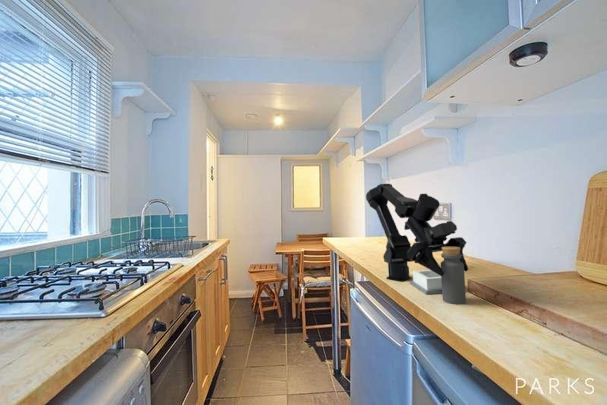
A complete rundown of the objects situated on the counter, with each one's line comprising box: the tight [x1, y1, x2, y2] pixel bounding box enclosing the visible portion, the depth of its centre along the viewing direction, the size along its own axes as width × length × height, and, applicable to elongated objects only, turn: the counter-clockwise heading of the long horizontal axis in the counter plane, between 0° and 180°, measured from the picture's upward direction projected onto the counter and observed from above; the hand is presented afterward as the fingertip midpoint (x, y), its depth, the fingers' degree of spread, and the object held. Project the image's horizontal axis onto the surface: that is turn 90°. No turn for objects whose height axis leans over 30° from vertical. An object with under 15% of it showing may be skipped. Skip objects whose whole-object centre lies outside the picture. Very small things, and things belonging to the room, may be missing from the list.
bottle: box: [440, 246, 467, 305], centre depth 80 cm, size 6×6×15 cm
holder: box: [409, 269, 442, 295], centre depth 93 cm, size 12×12×4 cm
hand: (455, 272), depth 80 cm, fingers open, 9 cm apart
